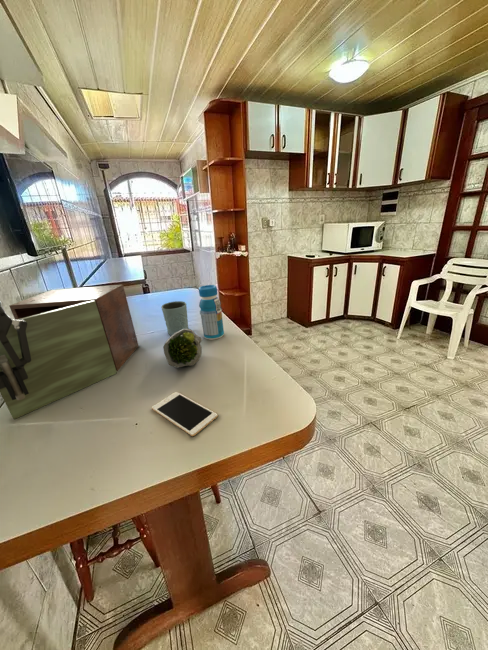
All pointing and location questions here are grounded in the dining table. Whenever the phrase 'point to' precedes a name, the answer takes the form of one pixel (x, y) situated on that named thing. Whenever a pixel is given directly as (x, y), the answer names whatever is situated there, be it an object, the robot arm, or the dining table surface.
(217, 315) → the beverage bottle
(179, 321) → the grey green cup
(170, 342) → the potted plant
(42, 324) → the cupboard door
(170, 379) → the dining table surface
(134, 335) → the cupboard
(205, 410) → the cell phone
